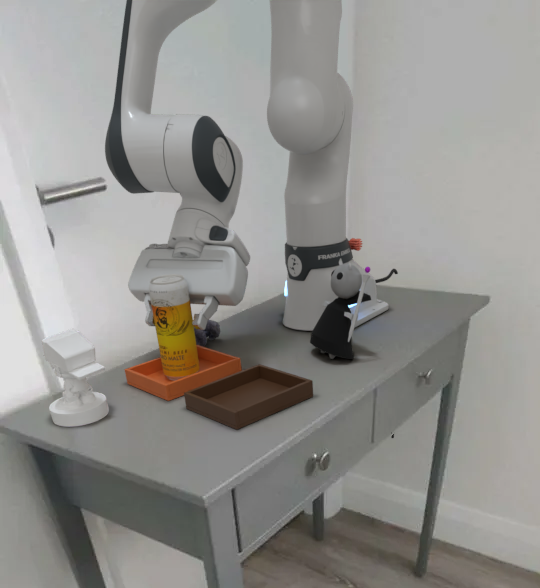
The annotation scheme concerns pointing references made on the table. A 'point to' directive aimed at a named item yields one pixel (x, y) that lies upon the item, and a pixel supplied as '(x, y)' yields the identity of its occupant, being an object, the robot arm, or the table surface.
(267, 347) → the table surface
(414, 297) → the table surface
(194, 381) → the can tray
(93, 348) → the character figurine
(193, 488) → the table surface
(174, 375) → the beer can
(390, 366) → the table surface
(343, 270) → the toy
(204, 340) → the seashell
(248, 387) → the walnut tray
